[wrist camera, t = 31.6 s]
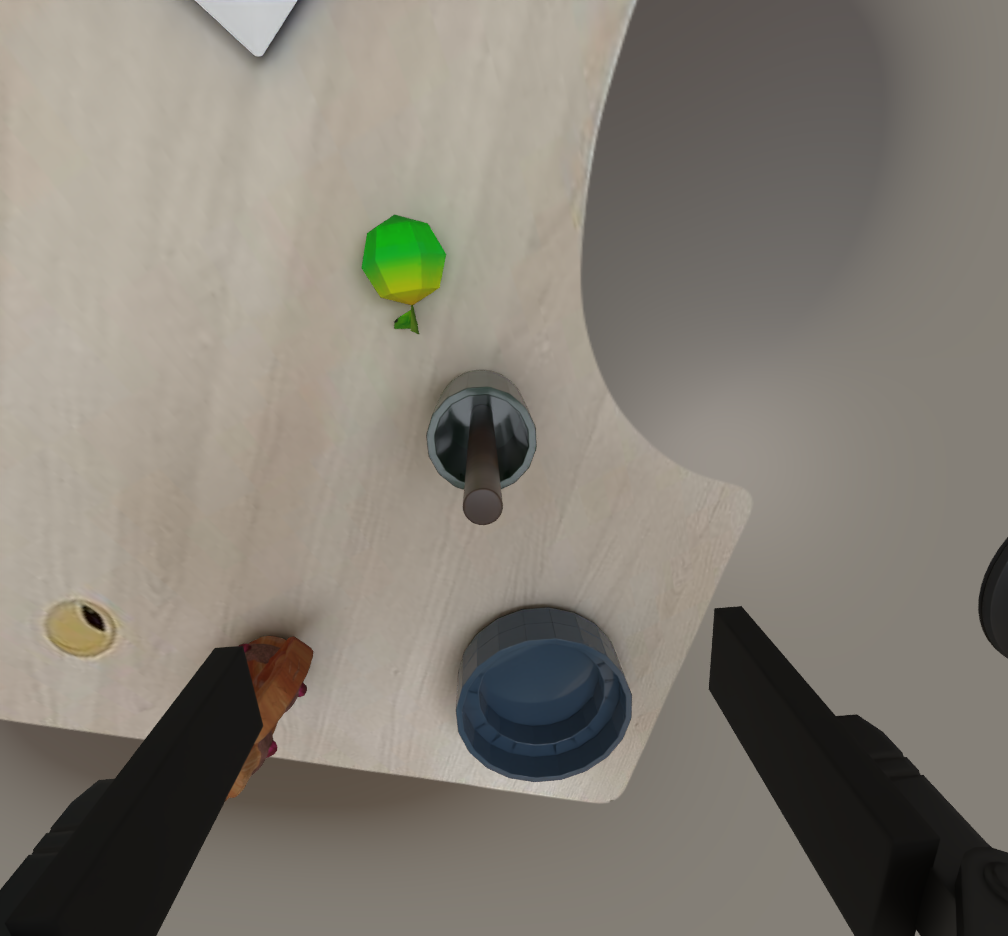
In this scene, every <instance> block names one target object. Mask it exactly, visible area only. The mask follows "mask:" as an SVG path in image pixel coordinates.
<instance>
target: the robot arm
mask: <svg viewBox="0 0 1008 936" xmlns="http://www.w3.org/2000/svg"><path fill="white" fill-rule="evenodd" d="M710 667H711V668H710V680H709V690H710V692H711V693H712V695H713V697H714V699H715V700H716V702H717V704H718V705H719V707H720V709H721V710H722V712H723V714H724V715H725V717H726V719H727V720H728V722H729V724H730V726H731V727H732V729H733V731H734V732H735V734H736V736H737V738H738V739H739V741H740V743H741V744H742V746H743V748H744V749H745V751H746V753H747V754H748V756H749V758H750V760H751V761H752V763H753V764H754V766H755V768H756V770H757V771H758V773H759V775H760V776H761V778H762V780H763V781H764V783H765V785H766V787H767V788H768V790H769V792H770V793H771V795H772V797H773V798H774V800H775V802H776V804H777V805H778V807H779V809H780V810H781V812H782V814H783V815H784V817H785V819H786V820H787V822H788V824H789V825H790V827H791V829H792V831H793V832H794V834H795V836H796V837H797V839H798V841H799V843H800V844H801V846H802V847H803V849H804V851H805V853H806V854H807V856H808V858H809V859H810V861H811V863H812V865H813V866H814V868H815V870H816V871H817V873H818V875H819V876H820V878H821V880H822V881H823V883H824V885H825V886H826V888H827V890H828V892H829V893H830V895H831V896H832V898H833V900H834V902H835V903H836V905H837V907H838V908H839V910H840V912H841V914H842V915H843V917H844V919H845V920H846V922H847V924H848V926H849V927H850V929H851V930H852V932H853V934H854V936H915V932H916V930H917V931H918V933H919V934H920V935H921V936H1008V853H1007V852H1004V851H1001V850H997V849H994V848H992V847H991V846H990V845H989V844H987V843H986V842H985V840H983V838H982V837H981V836H980V835H979V834H978V833H977V832H976V831H975V830H974V829H973V828H972V827H971V826H970V824H969V823H968V822H967V821H966V820H965V819H964V818H963V817H962V816H961V815H960V814H959V813H958V812H957V811H956V809H955V808H954V807H953V806H952V805H951V804H950V803H949V802H948V801H947V800H946V799H945V798H944V797H943V796H942V795H941V794H940V792H939V791H938V790H937V789H936V788H935V787H934V786H933V785H932V784H931V783H930V782H929V781H928V780H927V779H926V778H925V776H924V775H920V773H919V770H918V769H917V768H916V767H915V766H914V765H913V764H912V763H911V761H910V760H909V759H908V758H907V757H904V756H903V753H902V752H901V751H900V750H899V749H898V748H897V747H896V745H895V744H894V743H893V742H892V741H891V740H890V739H889V738H888V737H887V736H886V735H885V734H884V733H883V732H882V731H881V730H879V729H878V728H876V727H875V726H873V725H872V724H870V723H869V722H867V721H866V720H864V719H862V718H861V717H860V716H858V715H845V716H835V715H834V714H833V712H832V711H831V710H830V709H829V708H828V707H827V705H826V704H825V703H824V702H823V701H822V700H821V698H820V697H819V696H818V695H817V694H816V693H815V691H814V690H813V689H812V688H811V687H810V686H809V684H807V682H806V681H805V680H804V679H803V677H802V676H801V675H800V674H799V673H798V672H797V670H796V669H795V668H794V667H793V666H792V665H791V663H790V662H789V661H788V660H787V659H786V658H785V656H784V655H783V654H782V653H781V652H780V651H779V650H778V648H777V647H776V646H775V645H774V644H773V642H772V641H771V640H770V639H769V638H768V637H767V635H766V634H765V633H764V632H763V631H762V630H761V628H760V627H759V626H758V625H757V624H756V623H755V621H754V620H753V619H752V618H751V617H750V616H749V614H748V613H747V612H746V611H745V610H744V609H743V608H742V606H739V607H727V608H715V610H714V624H713V638H712V652H711V665H710ZM262 728H263V722H262V718H261V714H260V710H259V706H258V702H257V699H256V695H255V691H254V687H253V683H252V679H251V675H250V671H249V667H248V663H247V659H246V656H245V652H244V648H243V646H235V647H223V648H215V649H214V650H213V651H212V653H211V654H210V655H209V656H208V658H207V659H206V660H205V662H204V663H203V664H202V666H201V667H200V668H199V670H198V671H197V672H196V673H195V675H194V676H193V677H192V679H191V680H190V681H189V683H188V684H187V685H186V687H185V688H184V689H183V690H182V692H181V693H180V694H179V696H178V697H177V698H176V700H175V701H174V702H173V704H172V705H171V706H170V707H169V709H168V710H167V711H166V713H165V714H164V715H163V717H162V718H161V719H160V721H159V722H158V723H157V724H156V726H155V727H154V728H153V730H152V731H151V732H150V734H149V735H148V736H147V738H146V739H145V740H144V742H143V743H142V744H141V745H140V747H139V748H138V749H137V751H136V752H135V753H134V754H133V756H132V757H131V759H130V760H129V761H128V762H127V764H126V765H125V766H124V768H123V769H122V770H121V771H120V773H119V774H118V775H117V777H116V778H115V779H106V780H98V781H97V782H96V783H95V784H93V785H92V786H91V787H90V788H89V789H87V790H86V791H85V792H84V793H83V794H81V795H80V796H79V797H78V798H76V799H75V800H74V801H73V802H72V803H71V804H70V805H69V806H68V808H67V809H66V810H65V811H64V812H63V814H62V815H61V816H60V817H59V819H58V820H57V821H56V822H55V823H54V825H53V826H52V827H51V830H50V832H49V833H46V834H45V836H44V837H43V838H42V839H41V841H40V842H39V843H38V844H37V846H36V847H35V848H34V849H33V853H32V855H28V856H27V858H26V859H25V860H24V861H23V863H22V864H21V865H20V866H19V868H18V869H17V870H16V871H15V872H14V874H13V875H12V876H11V877H10V879H9V880H8V881H7V882H6V883H5V885H4V886H3V887H2V888H1V890H0V936H156V935H157V933H158V931H159V929H160V927H161V926H162V923H163V921H164V919H165V918H166V916H167V914H168V912H169V910H170V908H171V906H172V904H173V902H174V900H175V898H176V896H177V894H178V892H179V890H180V888H181V886H182V884H183V882H184V880H185V878H186V876H187V875H188V873H189V871H190V869H191V867H192V865H193V863H194V861H195V859H196V857H197V855H198V853H199V851H200V849H201V847H202V845H203V843H204V841H205V839H206V837H207V835H208V834H209V832H210V830H211V828H212V825H213V824H214V822H215V820H216V818H217V816H218V814H219V812H220V810H221V808H222V806H223V804H224V802H225V800H226V798H227V796H228V794H229V792H230V790H231V788H232V787H233V785H234V783H235V781H236V779H237V777H238V775H239V773H240V771H241V769H242V767H243V765H244V763H245V761H246V759H247V757H248V755H249V753H250V751H251V749H252V747H253V745H254V743H255V741H256V740H257V738H258V736H259V734H260V732H261V730H262Z"/></svg>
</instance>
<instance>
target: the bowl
mask: <svg viewBox="0 0 1008 936" xmlns="http://www.w3.org/2000/svg"><path fill="white" fill-rule="evenodd" d="M456 716H457V725H458V732H459V734H460V736H461V738H462V740H463V742H464V743H465V745H466V747H467V749H468V751H469V752H470V753H471V754H472V755H473V756H474V757H475V758H476V759H477V760H479V761H480V762H481V763H482V764H483V765H484V766H485V767H487V768H488V769H490V770H493V771H495V772H497V773H499V774H501V775H504V776H506V777H508V778H512V779H518V780H524V781H531V782H542V781H554V780H562V779H565V778H568V777H571V776H574V775H577V774H580V773H583V772H585V771H587V770H589V769H590V768H592V767H593V766H595V765H596V764H598V763H599V762H601V761H602V760H604V759H605V758H607V757H608V756H609V755H610V753H611V752H612V751H613V750H614V749H615V748H616V746H617V745H618V744H619V743H620V742H621V741H622V739H623V737H624V735H625V732H626V730H627V728H628V725H629V723H630V720H631V716H632V694H631V692H630V689H629V686H628V684H627V681H626V679H625V676H624V673H623V671H622V668H621V666H620V663H619V660H618V658H617V655H616V653H615V650H614V648H613V645H612V643H611V641H610V640H609V638H608V637H607V636H606V635H605V634H604V633H603V632H602V631H601V630H600V629H599V627H598V626H597V625H595V624H594V623H592V622H591V621H589V620H587V619H585V618H583V617H581V616H580V615H578V614H576V613H573V612H569V611H564V610H559V609H554V608H535V609H523V610H520V611H517V612H514V613H512V614H509V615H506V616H503V617H501V618H498V619H496V620H495V621H494V622H492V623H491V624H490V625H488V626H487V627H486V628H484V629H483V630H482V631H480V632H479V633H478V634H477V635H476V636H475V638H474V639H473V641H472V642H471V643H470V645H469V646H468V648H467V649H466V650H465V652H464V654H463V657H462V661H461V665H460V668H459V672H458V683H457V699H456Z"/></svg>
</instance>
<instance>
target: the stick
mask: <svg viewBox="0 0 1008 936" xmlns="http://www.w3.org/2000/svg"><path fill="white" fill-rule="evenodd" d="M502 509H503V503H502V494H501V485H500V476H499V467H498V458H497V449H496V440H495V431H494V422H493V413H492V411H491V409H490V408H489V407H488V406H486V405H477V406H475V407H474V408H473V409H472V411H471V415H470V427H469V439H468V450H467V462H466V474H465V486H464V497H463V511H464V514H465V516H466V517H467V518H468V519H469V520H470V521H471V522H473V523H475V524H478V525H487V524H490V523H493V522H494V521H496V520H497V519H498V518H499V516H500V515H501V513H502Z"/></svg>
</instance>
